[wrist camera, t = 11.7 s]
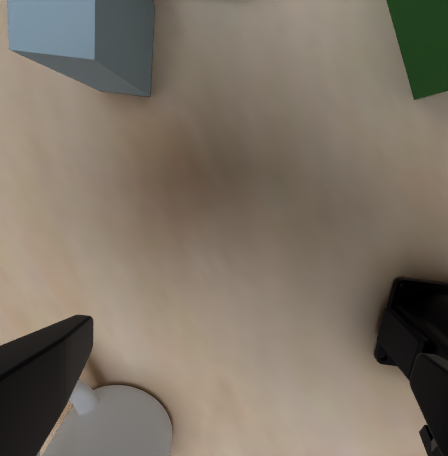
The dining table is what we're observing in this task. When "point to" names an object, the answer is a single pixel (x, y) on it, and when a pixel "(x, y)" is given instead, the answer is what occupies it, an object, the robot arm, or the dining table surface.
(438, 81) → the hardback book
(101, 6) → the crosspiece
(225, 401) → the dining table surface
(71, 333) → the robot arm
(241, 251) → the dining table surface
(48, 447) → the mug
